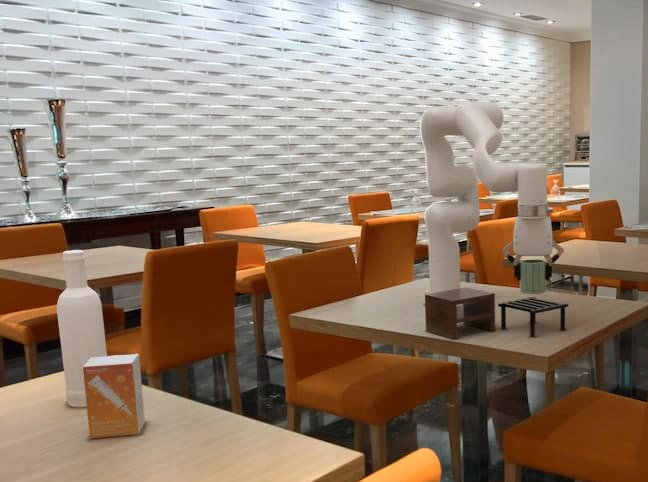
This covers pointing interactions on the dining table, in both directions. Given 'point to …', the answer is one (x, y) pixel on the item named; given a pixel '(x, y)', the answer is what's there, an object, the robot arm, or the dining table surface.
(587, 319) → the dining table surface
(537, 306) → the rack
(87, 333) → the bottle
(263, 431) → the dining table surface
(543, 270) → the cup
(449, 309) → the shelf
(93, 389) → the small box
